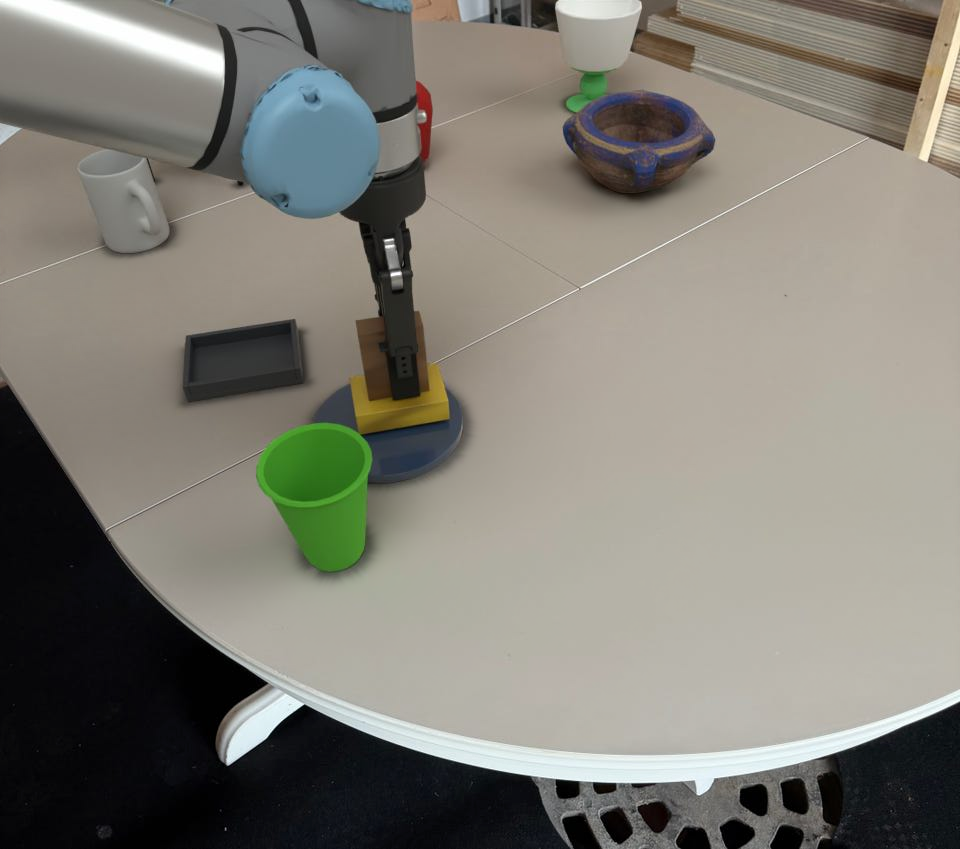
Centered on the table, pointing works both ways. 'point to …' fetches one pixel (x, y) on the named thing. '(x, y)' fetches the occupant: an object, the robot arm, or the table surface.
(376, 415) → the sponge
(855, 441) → the table surface
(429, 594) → the table surface
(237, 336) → the dish
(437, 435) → the plate
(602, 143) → the bowl
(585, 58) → the cup
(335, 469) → the cup
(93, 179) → the mug
